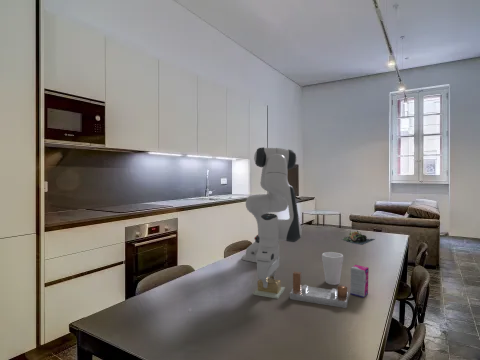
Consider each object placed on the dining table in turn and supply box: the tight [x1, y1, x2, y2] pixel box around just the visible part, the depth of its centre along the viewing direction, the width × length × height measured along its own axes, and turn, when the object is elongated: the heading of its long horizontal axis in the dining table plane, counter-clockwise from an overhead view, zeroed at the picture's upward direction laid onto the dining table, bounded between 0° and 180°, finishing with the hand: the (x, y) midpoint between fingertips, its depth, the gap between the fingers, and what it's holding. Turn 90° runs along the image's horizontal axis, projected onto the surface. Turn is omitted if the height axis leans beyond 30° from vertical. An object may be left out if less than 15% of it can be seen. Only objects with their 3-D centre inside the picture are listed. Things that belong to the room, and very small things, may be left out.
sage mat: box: [252, 286, 286, 300], centre depth 129 cm, size 11×11×1 cm
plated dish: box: [341, 230, 376, 246], centre depth 229 cm, size 35×28×7 cm
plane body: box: [289, 271, 349, 309], centre depth 122 cm, size 22×10×10 cm, turn 66°
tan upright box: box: [257, 278, 282, 294], centre depth 129 cm, size 9×5×4 cm, turn 66°
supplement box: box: [349, 264, 370, 298], centre depth 126 cm, size 6×6×12 cm
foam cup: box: [321, 251, 344, 286], centre depth 140 cm, size 10×9×13 cm
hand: (269, 283), depth 129 cm, fingers open, 8 cm apart
